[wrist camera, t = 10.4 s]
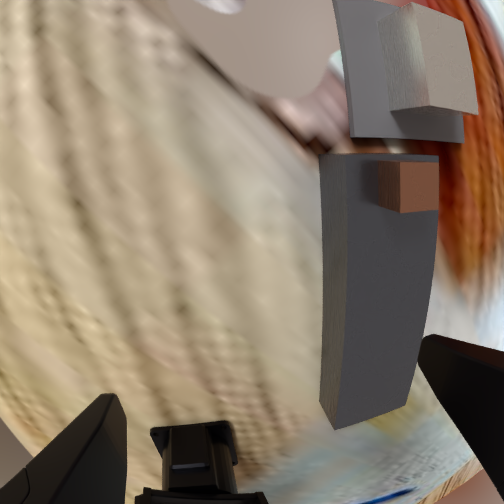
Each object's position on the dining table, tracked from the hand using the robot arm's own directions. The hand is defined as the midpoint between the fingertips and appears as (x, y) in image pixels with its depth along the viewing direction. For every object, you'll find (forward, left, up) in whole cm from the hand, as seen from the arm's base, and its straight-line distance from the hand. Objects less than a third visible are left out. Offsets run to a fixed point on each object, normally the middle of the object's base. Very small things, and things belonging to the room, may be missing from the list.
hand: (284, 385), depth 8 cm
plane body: (-4, -9, -11) cm, 15 cm away
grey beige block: (+11, -13, -11) cm, 20 cm away
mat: (+11, -13, -11) cm, 21 cm away
